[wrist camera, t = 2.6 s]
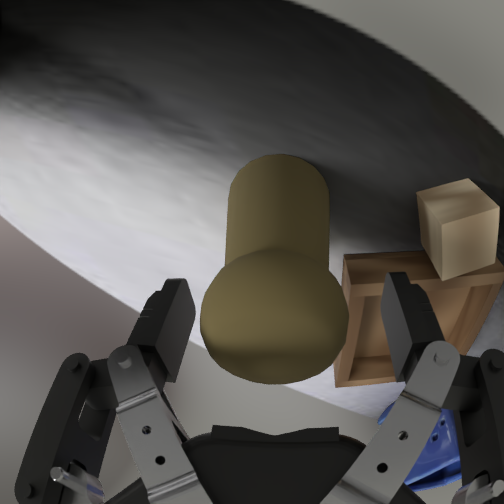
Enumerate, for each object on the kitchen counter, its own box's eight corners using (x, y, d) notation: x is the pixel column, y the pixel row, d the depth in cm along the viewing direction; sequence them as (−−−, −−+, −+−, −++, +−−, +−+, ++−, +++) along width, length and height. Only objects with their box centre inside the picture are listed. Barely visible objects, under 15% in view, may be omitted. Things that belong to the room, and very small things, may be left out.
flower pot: (363, 413, 34) (370, 498, 24) (433, 355, 26) (460, 461, 16) (432, 416, 35) (444, 486, 25) (496, 366, 27) (522, 445, 18)
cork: (337, 159, 16) (396, 299, 7) (321, 248, 20) (340, 406, 11) (228, 150, 17) (163, 281, 8) (228, 241, 20) (189, 395, 11)
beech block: (421, 243, 19) (441, 281, 16) (415, 191, 17) (441, 224, 14) (468, 228, 18) (494, 263, 15) (467, 177, 16) (499, 207, 13)
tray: (332, 360, 27) (335, 387, 24) (343, 254, 20) (351, 284, 18) (447, 347, 25) (455, 371, 23) (489, 247, 18) (507, 271, 16)
